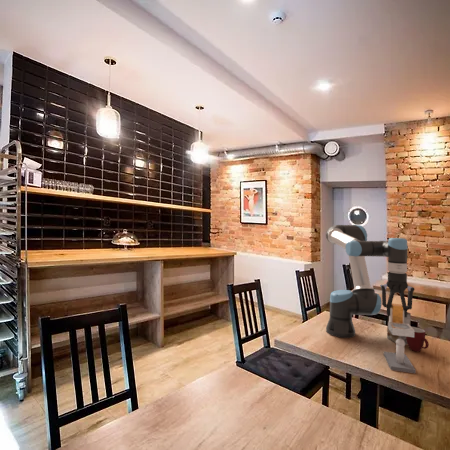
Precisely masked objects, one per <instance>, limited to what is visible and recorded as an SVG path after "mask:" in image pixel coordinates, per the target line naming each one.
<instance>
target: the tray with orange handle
mask: <svg viewBox="0 0 450 450" xmlns="http://www.w3.org/2000/svg"><path fill="white" fill-rule="evenodd" d="M391 308H392V322H388V321H387V324H388V329H389V330H390V332H391V333H392V335H398V336H406V337H414V329H413V328H412V327H413V326H411V324H410V325H409V324H405V323H403V306H402V303H401V304H400V303H392V305H391Z"/></svg>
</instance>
